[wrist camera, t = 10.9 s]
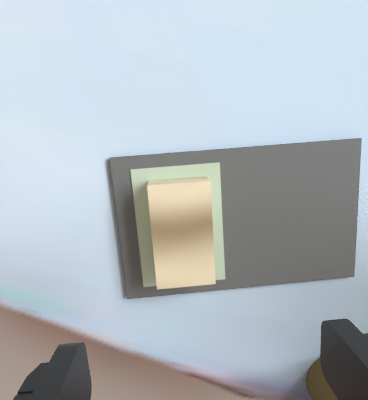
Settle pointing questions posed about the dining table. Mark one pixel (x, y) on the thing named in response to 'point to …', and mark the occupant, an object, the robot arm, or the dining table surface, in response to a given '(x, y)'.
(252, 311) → the dining table surface
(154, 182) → the maple tile
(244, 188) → the grey board
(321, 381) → the cork
